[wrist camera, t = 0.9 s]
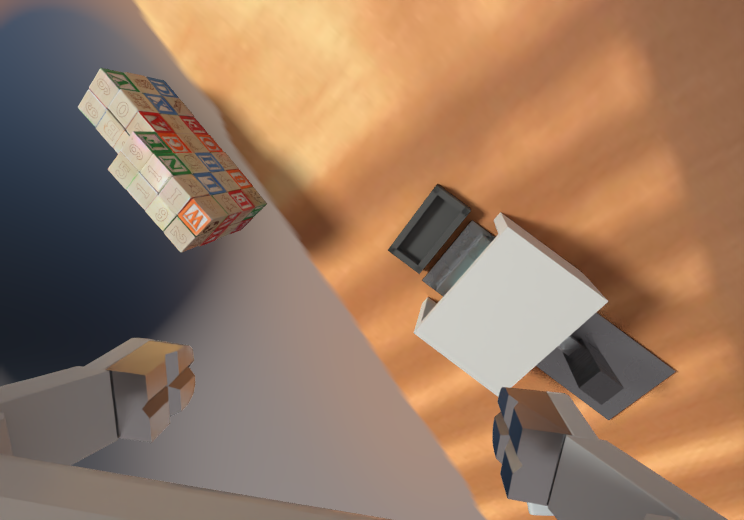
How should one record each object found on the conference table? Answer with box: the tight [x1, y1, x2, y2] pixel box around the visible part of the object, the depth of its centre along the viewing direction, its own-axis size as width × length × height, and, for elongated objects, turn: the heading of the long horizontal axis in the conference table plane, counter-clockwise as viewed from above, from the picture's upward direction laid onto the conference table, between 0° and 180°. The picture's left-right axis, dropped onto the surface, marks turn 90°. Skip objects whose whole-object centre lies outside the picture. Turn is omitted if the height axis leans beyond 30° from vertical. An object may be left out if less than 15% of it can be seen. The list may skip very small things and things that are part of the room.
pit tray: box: [388, 184, 471, 274], centre depth 45 cm, size 10×5×2 cm, turn 145°
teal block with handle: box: [436, 234, 624, 405], centre depth 42 cm, size 9×20×7 cm, turn 56°
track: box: [422, 220, 676, 420], centre depth 45 cm, size 10×30×1 cm, turn 56°
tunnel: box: [414, 212, 608, 397], centre depth 42 cm, size 15×12×8 cm
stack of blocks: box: [78, 68, 267, 252], centre depth 45 cm, size 21×6×12 cm, turn 41°
